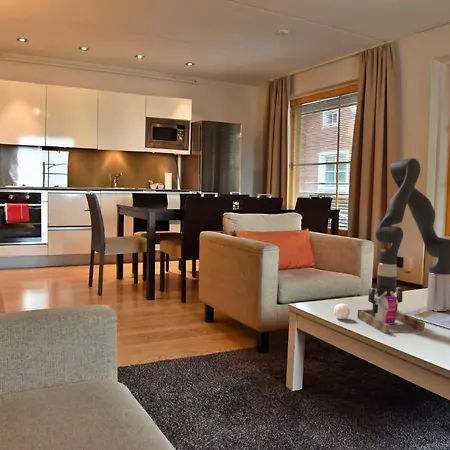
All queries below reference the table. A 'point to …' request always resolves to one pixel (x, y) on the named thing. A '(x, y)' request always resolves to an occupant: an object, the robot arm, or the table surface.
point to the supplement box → (387, 309)
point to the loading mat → (401, 328)
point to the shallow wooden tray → (370, 319)
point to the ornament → (341, 311)
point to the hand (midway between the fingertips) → (384, 312)
